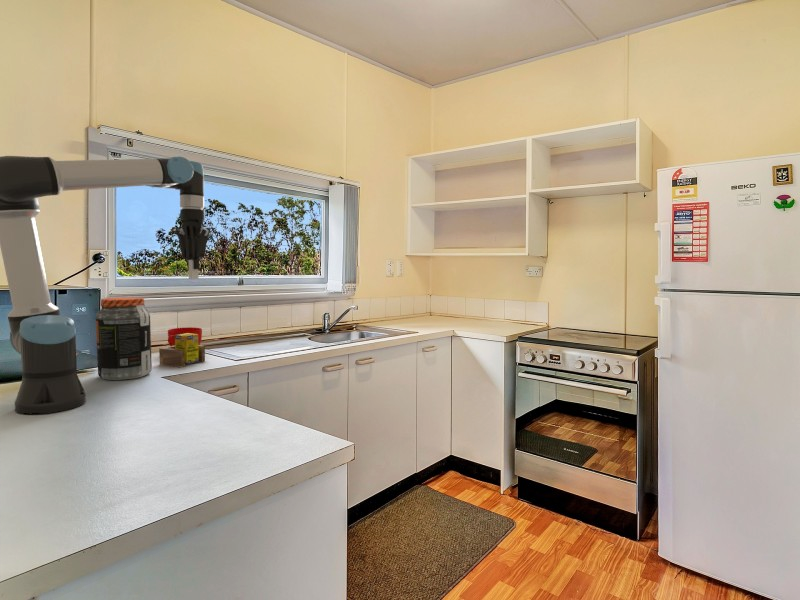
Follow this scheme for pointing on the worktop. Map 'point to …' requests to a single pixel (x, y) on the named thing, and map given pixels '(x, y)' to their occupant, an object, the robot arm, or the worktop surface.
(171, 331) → the red ribbed container
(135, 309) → the supplement tub
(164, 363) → the brown rectangular block
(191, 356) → the supplement box
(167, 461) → the worktop surface
